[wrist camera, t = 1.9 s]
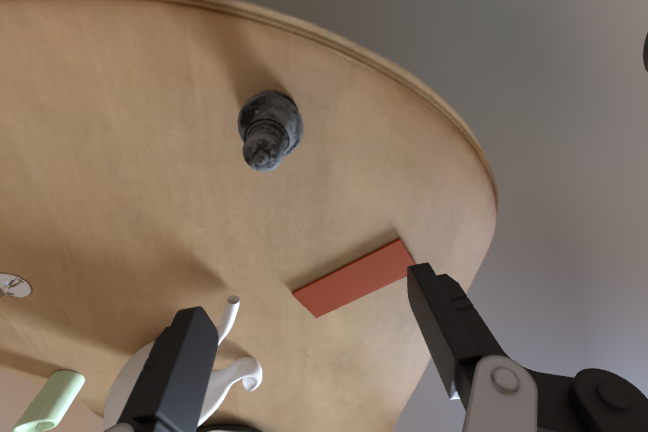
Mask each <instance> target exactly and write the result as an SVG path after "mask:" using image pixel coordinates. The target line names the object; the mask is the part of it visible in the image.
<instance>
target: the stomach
mask: <svg viewBox="0 0 648 432" xmlns="http://www.w3.org/2000/svg"><path fill="white" fill-rule="evenodd" d="M239 302H240V298H239V297H238V296H230V297H229V298H228V299H227V302H226V306H225V310H224V313H223V316H222V319H221V322H220V324H219V326H218V328H217V331H218V336H219V343H218V345H219V344H220V343H221V341H222V340H223V339H224V337H225V336H226V335H227V333H228V332H229V330H230V328H231V326H232V324H233V322H234V319H235V317H236V314H237V310H238V307H239ZM154 342H155V340H154V341H152V342H150V343H149V344H147V345H145V346H144V347H142V348H141V349H140V350H139V351H137V352H136V353H135V354H134V355H133V356H132V357H131V358H130V359H129V361H128V362H127V363H126V364H125V366H124V367H123V368H122V370H121V371H120V373H119V374H118V376H117V378H116V379H115V381H114V383H113V384H112V386H111V388H110V391H109V393H108V396H107V400H106V404H105V409H104V425H105V430H107V429H108V428H110V427H112V426H113V425H115V424H116V423H117V421H118V419H119V417H120V415H121V413H122V411H123V409H124V407H125V404H126V402H127V400H128V398H129V396H130V394H131V392H132V389H133V387H134V385H135V383H136V381H137V379H138V377H139V374H140V372H141V371H142V370H143V366H144V364H145V362H146V359H147V358H149V353H150V351H151V349H152V347H153V344H154ZM242 378H243V386H244V388H245V389H246V390H247V391H249V392H251V391H253V390H254V389H256V388H257V387H258V386H259V384H260V383H261V380H262V369H261V366H260V364H259V362H258V361H257V360H256V359H254V358H252V357H243V358H240V359H237V360H236V361H234V362H233V363H232V364H231V365H229V366H228V367H226V368H224V369H219V370H214V369H212V371H211V375H210V379H209V383H208V387H207V391H206V395H205V399H204V403H203V407H202V411H201V415H200V418H199V422H198V426H199V425H201V424H202V423H203V422H204V421H205V420H206V419H207V418H208V417H209V416H210V415H211V414H212V413H213V412H214V411H215V410H216V409H217V408H218V406H219V405H220V404H221V402H222V401H223V399H224V397H225V396H226V394H227V392H228V390H229V388H230V387H231V385H232V384H233V383H234V382H236V381H238V380H240V379H242ZM198 426H197V427H198Z"/></svg>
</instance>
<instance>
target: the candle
mask: <svg viewBox="0 0 648 432" xmlns="http://www.w3.org/2000/svg"><path fill="white" fill-rule="evenodd" d="M84 382H85V379H84V377H83V376H82V375H81V374H79V373H77V372H74V371H68V370H61V371H57V372H55V373H53V374H52V376H51V377H50V378H49V380H48V381H47V382H46V384H45V385H44V387H43V388H42V389H41V391H40V392H39V393H38V395H37V396H36V398H35V399H34V400H33V402H32V403H31V404H30V406H29V407H28V409H27V410H26V411H25V413H24V414H23V415H22V417H21V418H20V419H19V421H18V423H17V424H16V425H15V426H14V428H13V432H41V431H45V430H49V429H51V428H53V427H55V426H57V425H58V424H59V422H60V421H61V419H62V417H63V416H64V413H65V412H66V411H67V409H68V408H69V406H70V404H71V403H72V401H73V399H74V398H75V396H76V395H77V393H78V392H79V390H80V388H81V387H82V385H83V383H84Z"/></svg>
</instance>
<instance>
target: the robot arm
mask: <svg viewBox="0 0 648 432" xmlns="http://www.w3.org/2000/svg"><path fill="white" fill-rule="evenodd" d="M407 287H408V298H409V302H410V306H411V309H412V311H413V313H414V316H415V318H416V320H417V323H418V325H419V327H420V330H421V332H422V335H423V337H424V339H425V342H426V344H427V346H428V349H429V351H430V353H431V356H432V358H433V361H434V363H435V365H436V368H437V370H438V372H439V375H440V377H441V379H442V382H443V384H444V386H445V389H446V391H447V394H448V396H449V398H450V400H452V399H457V398H460V399H461V402H462V404H463V406H464V408H465V410H466V415H465V420H464V425H463V430H462V432H648V399H647V398H646V397H645V395H644V394H642V393H641V391H640V390H639V389H637V388H636V387H635V386H634V385H633V384H631V383H630V382H628V381H627V380H625V379H623V378H622V377H620V376H618V375H616V374H614V373H611V372H609V371H606V370H601V369H595V368H592V369H591V368H590V369H584V370H582V371H580V372H578V373H577V375H576V376H575V378H573V377H566V376H560V375H553V374H546V373H540V372H535V371H532V370H529V369H527V368H525V367H523V366H521V365H520V364H519V363H517V362H516V361H514V360H512V359H511V358H510V357H508V355H507V354H505V352H504V351H503V350H502V348H501V347H500V345H499V344H498V342H497V341H496V339H495V338H494V336H493V335H492V333H491V332H490V330H489V329H488V327H487V326H486V324H485V323H484V321H483V320H482V318H481V317H480V315H479V314H478V312H477V310H476V309H474V307H473V304H472V303H471V301H470V300H469V298H467V295H466V294H465V292H464V291H463V289H462V288H461V286H460V285H459V283H458V282H456V281H455V280H454V279H452V278H451V277H450V276H448V275H447V274H442V275H437V276H436V274H435V272H434V271H433V269H432V267H431V266H430V264H429V263H422V264H416V265H411V266H408V267H407ZM218 343H219V336H218V331H217V329H216V327H215V326H214V324H213V323H212V321H211V320H210V318H209V317H208V315H207V314H206V312H205V310H204V309H203V308H202V307H201V306H198V307H193V308H188V309H182V310H179V311H178V312H177V313H176V315H175V318H174V320H173V322H172V324H171V326H169V327H166V328H165V329H164V331H163V332H162V333H161V334H160V336H159V337H158V338H157V339H156V340H155V342H154V344H153V347H152V349H151V351H150V353H149V358H147V359H146V362H145V364H144V366H143V370H142V371H141V372H140V374H139V377H138V379H137V381H136V383H135V385H134V387H133V389H132V392H131V394H130V396H129V398H128V400H127V402H126V404H125V407H124V409H123V411H122V413H121V415H120V417H119V419H118V421H117V423H116V424H115V425H113V426H112V427H110V428H108V429H107V430H105V431H104V432H196V430H197V426H198V422H199V418H200V415H201V411H202V407H203V403H204V399H205V395H206V391H207V387H208V383H209V379H210V375H211V371H212V368H213V364H214V360H215V356H216V352H217V348H218Z"/></svg>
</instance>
